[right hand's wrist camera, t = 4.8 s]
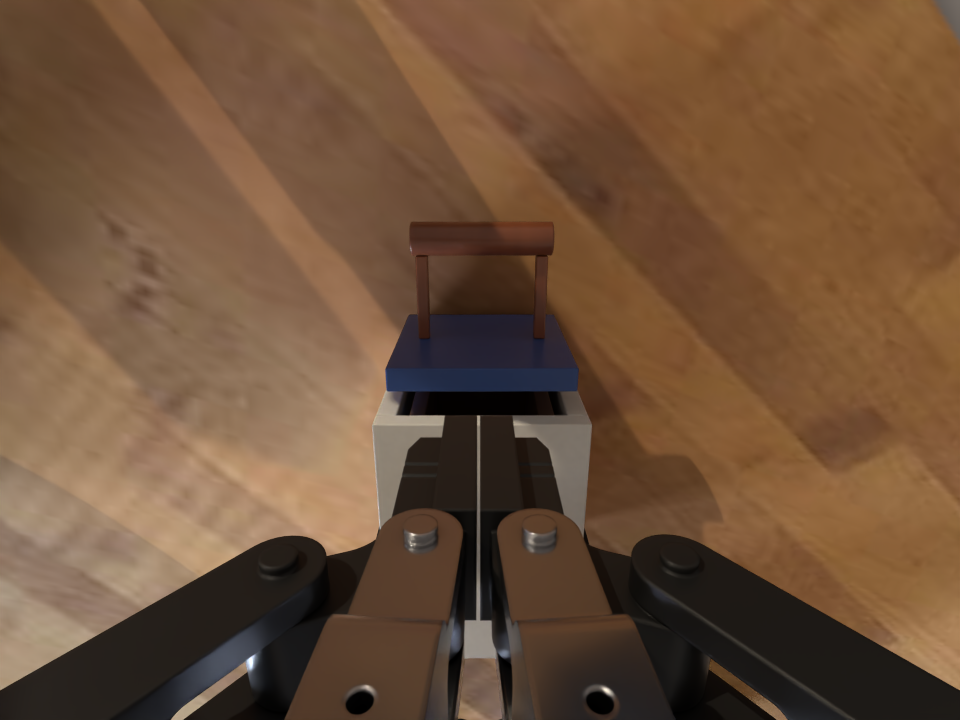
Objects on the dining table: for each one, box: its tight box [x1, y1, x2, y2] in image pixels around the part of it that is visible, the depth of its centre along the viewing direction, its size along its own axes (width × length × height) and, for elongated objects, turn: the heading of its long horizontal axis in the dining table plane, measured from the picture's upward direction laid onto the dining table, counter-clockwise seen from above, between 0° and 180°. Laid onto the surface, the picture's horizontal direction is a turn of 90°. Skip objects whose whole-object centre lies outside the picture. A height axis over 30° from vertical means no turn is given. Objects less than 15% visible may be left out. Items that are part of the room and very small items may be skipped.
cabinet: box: [372, 389, 592, 658], centre depth 34 cm, size 14×10×11 cm
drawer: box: [385, 222, 579, 416], centre depth 32 cm, size 19×9×9 cm, turn 0°
